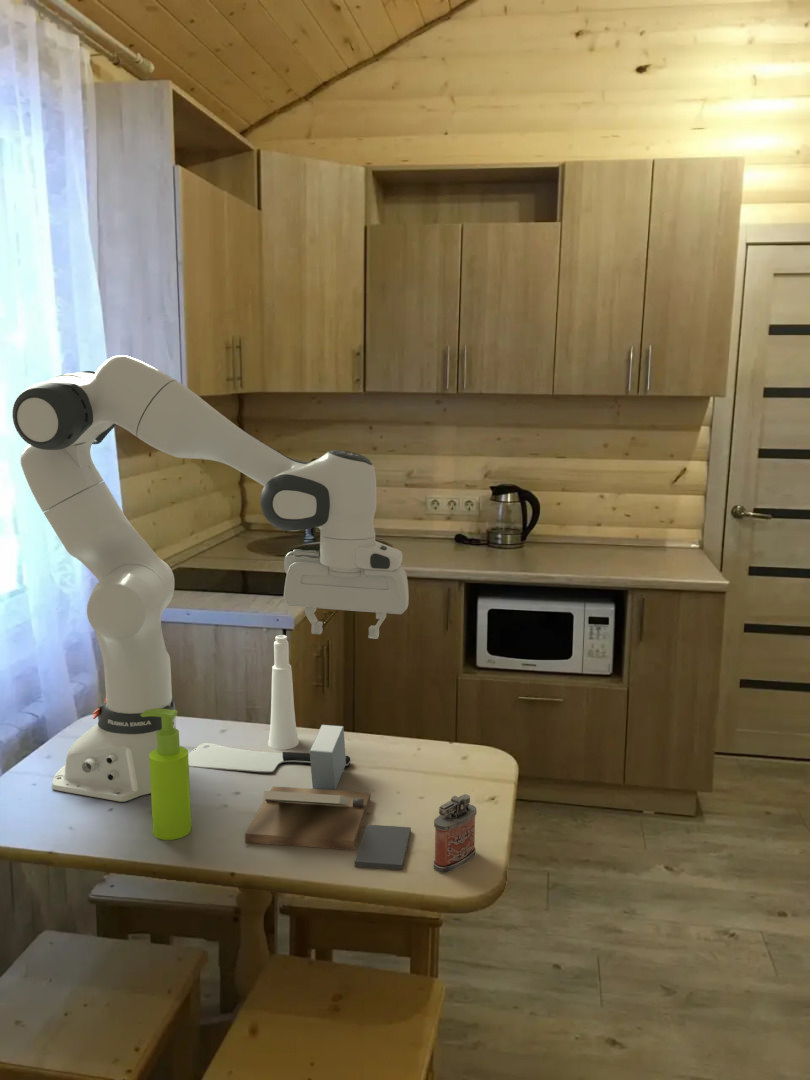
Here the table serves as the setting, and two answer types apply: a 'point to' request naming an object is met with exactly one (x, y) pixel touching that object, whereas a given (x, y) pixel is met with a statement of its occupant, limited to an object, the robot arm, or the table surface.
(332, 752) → the grey rectangular prism
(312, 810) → the hinge board
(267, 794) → the tile
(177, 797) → the soap dispenser
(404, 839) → the pad
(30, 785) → the table surface
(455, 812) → the lighter
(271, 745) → the cosmetic bottle
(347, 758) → the kitchen cleaver
